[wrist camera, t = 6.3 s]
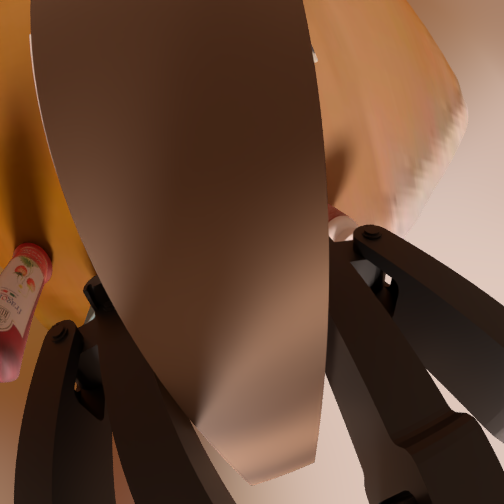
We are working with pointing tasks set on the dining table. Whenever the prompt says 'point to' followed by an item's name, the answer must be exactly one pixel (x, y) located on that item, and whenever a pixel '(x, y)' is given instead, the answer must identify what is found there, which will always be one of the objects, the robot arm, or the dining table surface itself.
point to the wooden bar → (201, 203)
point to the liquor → (20, 304)
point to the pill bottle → (340, 225)
